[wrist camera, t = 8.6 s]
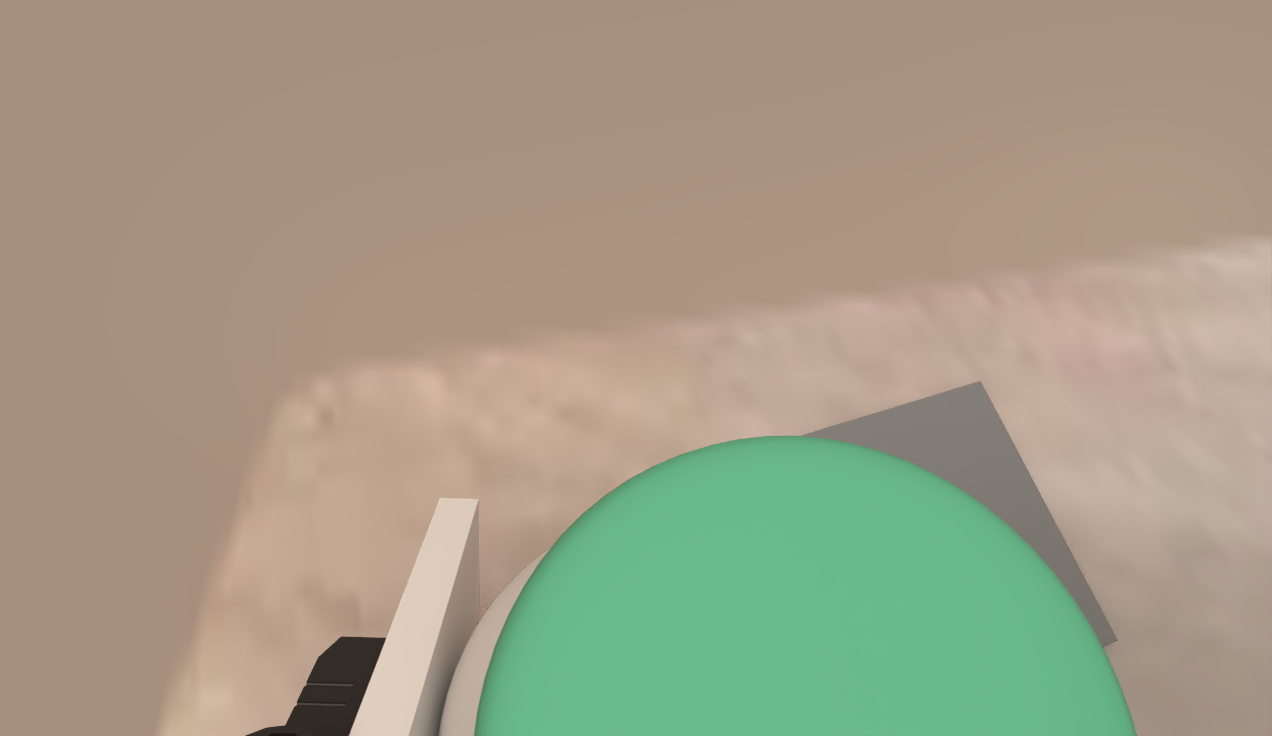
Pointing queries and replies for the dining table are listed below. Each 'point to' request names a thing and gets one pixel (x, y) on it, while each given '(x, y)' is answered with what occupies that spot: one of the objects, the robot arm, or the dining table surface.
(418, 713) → the robot arm
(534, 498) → the dining table surface
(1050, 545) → the slate mat
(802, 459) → the milk bottle
